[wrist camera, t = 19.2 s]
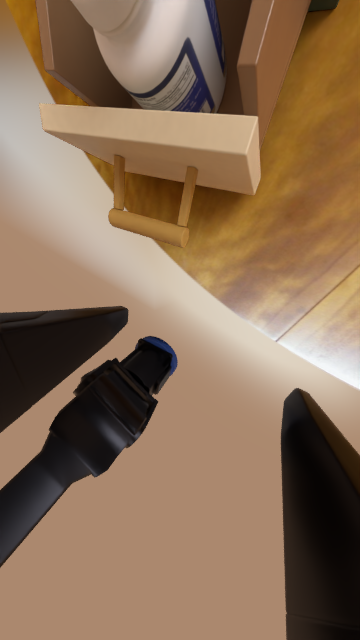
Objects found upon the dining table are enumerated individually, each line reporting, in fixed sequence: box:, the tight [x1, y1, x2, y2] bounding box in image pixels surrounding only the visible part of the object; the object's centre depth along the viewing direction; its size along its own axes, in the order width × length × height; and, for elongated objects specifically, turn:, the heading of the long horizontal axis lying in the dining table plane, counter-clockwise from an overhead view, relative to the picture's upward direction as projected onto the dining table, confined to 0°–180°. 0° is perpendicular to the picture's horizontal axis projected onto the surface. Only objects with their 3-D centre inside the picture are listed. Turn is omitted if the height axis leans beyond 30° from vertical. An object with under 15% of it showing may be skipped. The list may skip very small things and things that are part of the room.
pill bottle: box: [71, 0, 227, 114], centre depth 8 cm, size 5×5×9 cm
